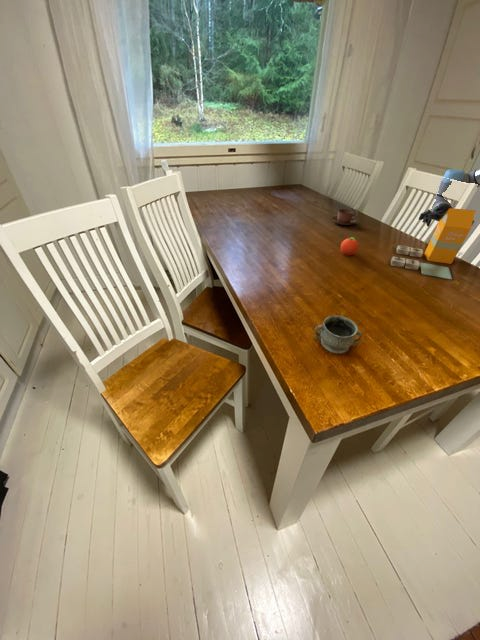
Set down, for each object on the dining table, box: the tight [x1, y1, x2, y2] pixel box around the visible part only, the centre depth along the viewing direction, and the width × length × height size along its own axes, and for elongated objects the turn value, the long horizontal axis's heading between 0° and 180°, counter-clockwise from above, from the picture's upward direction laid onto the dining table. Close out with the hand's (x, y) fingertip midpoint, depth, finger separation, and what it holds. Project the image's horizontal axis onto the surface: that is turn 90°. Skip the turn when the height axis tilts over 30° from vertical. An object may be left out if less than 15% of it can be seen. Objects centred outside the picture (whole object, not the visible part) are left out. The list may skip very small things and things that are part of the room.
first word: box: [396, 245, 424, 258], centre depth 117 cm, size 10×4×2 cm, turn 66°
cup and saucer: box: [332, 208, 358, 226], centre depth 144 cm, size 12×12×6 cm
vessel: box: [313, 314, 363, 354], centre depth 71 cm, size 12×9×6 cm
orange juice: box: [423, 207, 476, 265], centre depth 108 cm, size 8×9×20 cm
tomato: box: [340, 236, 359, 256], centre depth 114 cm, size 8×7×7 cm
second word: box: [390, 255, 453, 281], centre depth 107 cm, size 21×10×2 cm, turn 66°
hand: (447, 225), depth 113 cm, fingers open, 13 cm apart
